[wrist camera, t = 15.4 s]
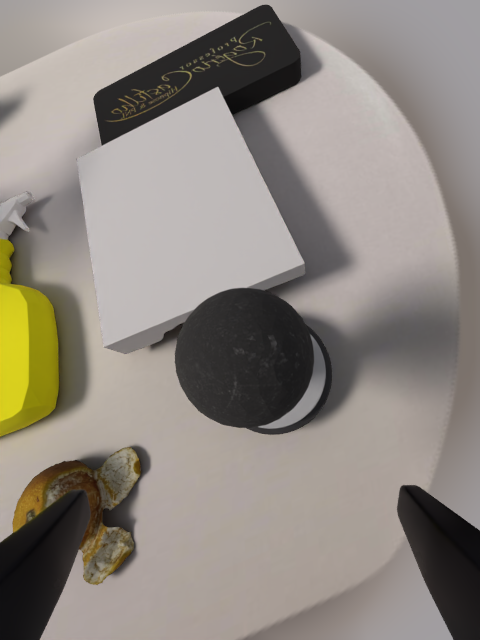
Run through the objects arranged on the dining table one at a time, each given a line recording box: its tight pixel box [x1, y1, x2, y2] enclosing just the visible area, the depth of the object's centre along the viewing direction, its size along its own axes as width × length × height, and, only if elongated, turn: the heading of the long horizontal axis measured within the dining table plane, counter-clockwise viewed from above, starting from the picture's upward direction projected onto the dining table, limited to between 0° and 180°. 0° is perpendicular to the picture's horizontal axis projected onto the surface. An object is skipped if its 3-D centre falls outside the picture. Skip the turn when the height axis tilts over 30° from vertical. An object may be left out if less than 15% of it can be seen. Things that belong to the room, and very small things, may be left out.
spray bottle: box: [0, 192, 59, 437], centre depth 27 cm, size 3×11×24 cm
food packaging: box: [77, 87, 305, 354], centre depth 24 cm, size 15×3×20 cm
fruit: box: [13, 447, 141, 585], centre depth 19 cm, size 8×8×4 cm
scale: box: [247, 325, 332, 435], centre depth 20 cm, size 8×8×2 cm
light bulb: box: [175, 288, 314, 428], centre depth 14 cm, size 6×6×10 cm
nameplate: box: [93, 5, 301, 145], centre depth 30 cm, size 21×2×10 cm
